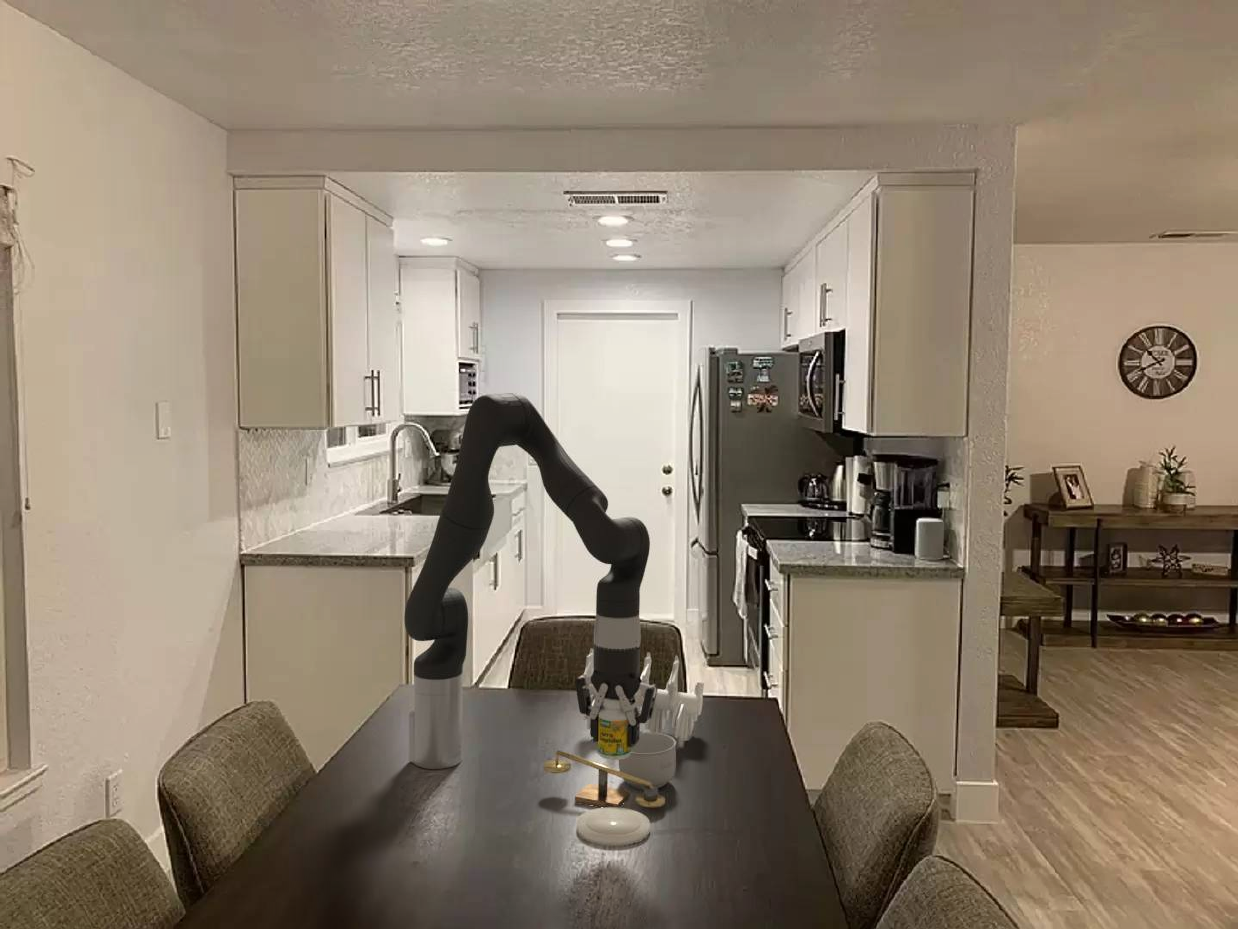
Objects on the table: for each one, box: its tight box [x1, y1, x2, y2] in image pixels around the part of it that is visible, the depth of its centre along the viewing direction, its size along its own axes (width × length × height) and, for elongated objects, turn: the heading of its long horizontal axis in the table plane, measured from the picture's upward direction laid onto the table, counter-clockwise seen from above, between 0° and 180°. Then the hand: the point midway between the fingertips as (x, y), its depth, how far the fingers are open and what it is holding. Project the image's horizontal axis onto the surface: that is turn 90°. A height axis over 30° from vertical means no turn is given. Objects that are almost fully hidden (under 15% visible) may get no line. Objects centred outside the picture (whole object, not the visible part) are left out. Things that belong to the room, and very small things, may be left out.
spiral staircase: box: [582, 647, 705, 746], centre depth 207 cm, size 18×18×25 cm
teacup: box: [617, 729, 677, 790], centre depth 185 cm, size 14×11×8 cm
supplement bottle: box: [597, 698, 631, 761], centre depth 163 cm, size 5×5×10 cm
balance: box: [542, 749, 666, 809], centre depth 175 cm, size 23×6×8 cm, turn 69°
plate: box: [576, 807, 651, 847], centre depth 164 cm, size 12×12×1 cm
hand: (614, 742), depth 163 cm, fingers closed on supplement bottle, 5 cm apart
